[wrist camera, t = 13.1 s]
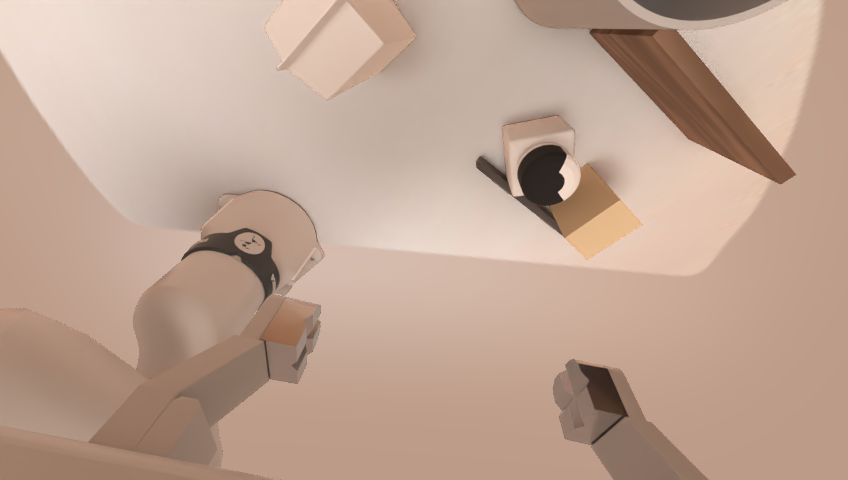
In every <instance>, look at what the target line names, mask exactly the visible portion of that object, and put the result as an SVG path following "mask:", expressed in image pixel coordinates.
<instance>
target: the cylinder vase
mask: <svg viewBox="0 0 848 480" xmlns="http://www.w3.org/2000/svg"><path fill="white" fill-rule="evenodd" d="M515 1H516V3H517V5H518V6H519V8H520V9H521V10H522V12H523V13H524V14H525V15H526V16H527V17H528V18H530V19H531V20H532V21H534V22H536V23H538V24H540V25H542V26H546V27H550V28H586V29H659V30H701V29H710V28H716V27H721V26H726V25H730V24H733V23H737V22H740V21H743V20H746V19H749V18H751V17H754V16H757V15H759V14H761V13H764V12H766V11H768V10H770V9H772V8H774V7H776V6H778V5H780V4H782V3H784V2H786V1H788V0H515Z"/></svg>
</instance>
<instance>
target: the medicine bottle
mask: <svg viewBox="0 0 848 480" xmlns="http://www.w3.org/2000/svg"><path fill="white" fill-rule="evenodd" d="M502 132H503V144H504V157H505V169H506V176H507V180H508V183H509V186H510V190H511V193H512V195H513V196H514V197H516V196H523V195H524V196H525V197H526V198H527V199H528V200H529V201H530V202H532V203H534V204H537V205H542V206H550V205H555V204H558V203H560V202H562V201H564V200H566V199H567V198H569V197H570V196H571V195H572V194H573V193H574V191H575V190H576V189H577V187H578V185H579V182H580V178H581V171H580V167H579V165H578V163H577V161H576V160H575V159H574V144H575V130H574V129H573V128H572V127H570V126H569V125H568V124H567V123H566V122H565V121H564V120H563V119H562V118H561V117H559V116H552V117H547V118H541V119H536V120H531V121H526V122H520V123H515V124H510V125H505V126H503V128H502Z"/></svg>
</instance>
